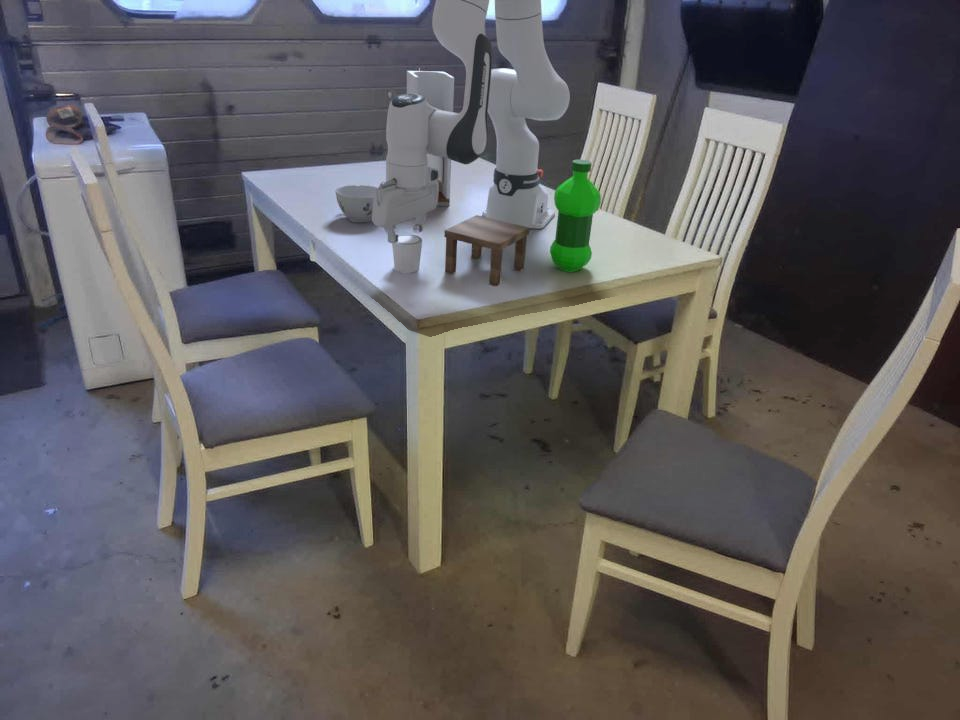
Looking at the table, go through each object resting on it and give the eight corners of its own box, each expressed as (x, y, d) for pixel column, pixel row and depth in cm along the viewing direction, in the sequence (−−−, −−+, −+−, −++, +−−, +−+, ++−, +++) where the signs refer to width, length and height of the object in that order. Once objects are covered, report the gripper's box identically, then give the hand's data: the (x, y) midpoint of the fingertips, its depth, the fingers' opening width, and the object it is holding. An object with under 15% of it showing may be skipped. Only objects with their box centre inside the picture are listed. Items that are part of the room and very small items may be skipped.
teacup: (392, 222, 190) (392, 193, 186) (350, 230, 183) (349, 199, 179) (365, 207, 200) (364, 179, 197) (324, 213, 194) (323, 184, 190)
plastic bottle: (539, 268, 167) (550, 161, 155) (560, 256, 175) (572, 154, 163) (577, 279, 163) (591, 170, 150) (597, 266, 170) (612, 161, 158)
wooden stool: (474, 255, 173) (476, 215, 168) (525, 268, 167) (529, 227, 162) (443, 272, 162) (444, 230, 157) (496, 287, 156) (499, 244, 151)
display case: (406, 195, 213) (406, 70, 196) (440, 194, 216) (444, 71, 199) (413, 206, 204) (415, 76, 187) (449, 205, 206) (454, 77, 189)
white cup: (428, 268, 163) (428, 239, 160) (406, 276, 159) (406, 246, 155) (407, 260, 167) (407, 231, 164) (385, 267, 162) (385, 238, 159)
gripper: (389, 187, 143) (388, 252, 149) (444, 169, 159) (441, 229, 165) (364, 181, 146) (365, 245, 152) (421, 164, 161) (419, 223, 168)
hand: (405, 237), depth 159 cm, fingers open, 8 cm apart
